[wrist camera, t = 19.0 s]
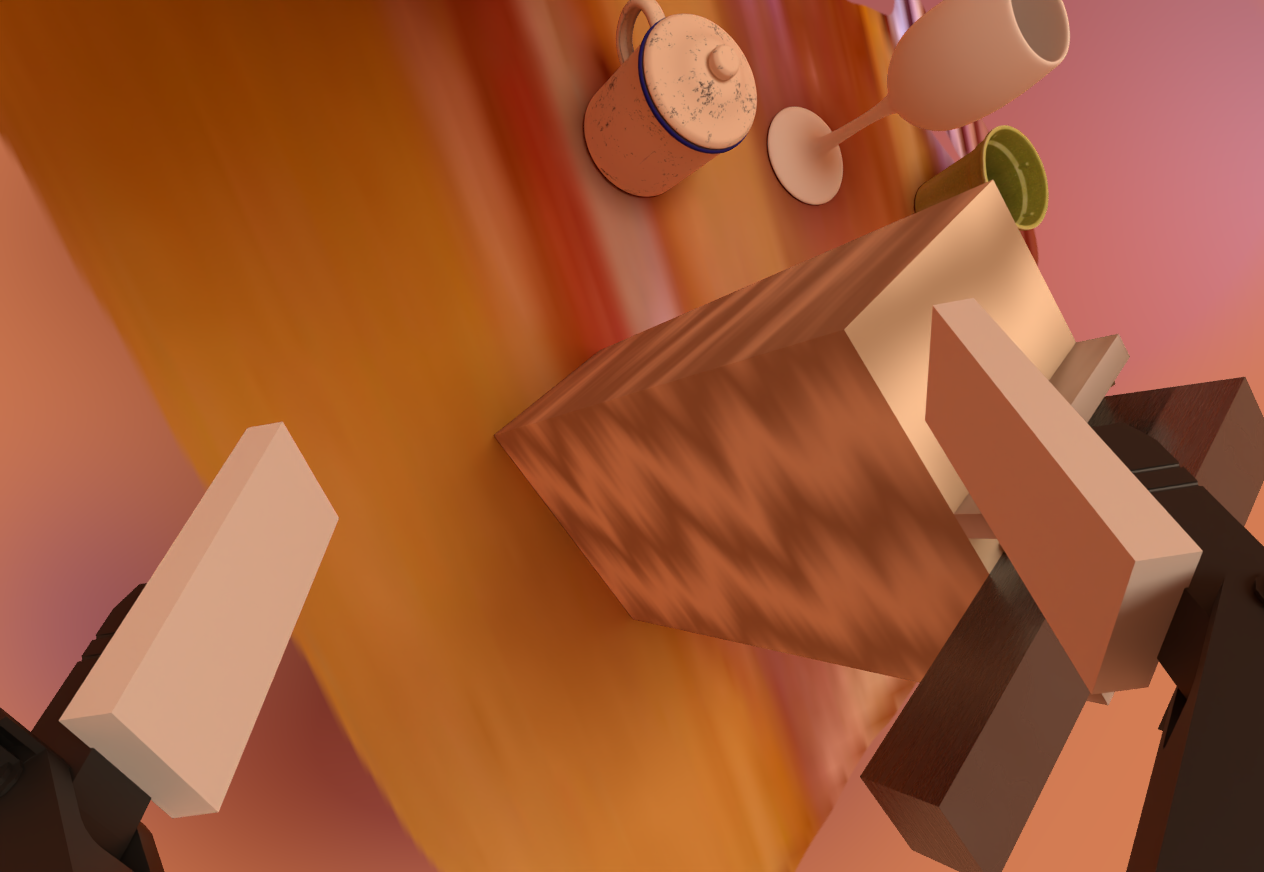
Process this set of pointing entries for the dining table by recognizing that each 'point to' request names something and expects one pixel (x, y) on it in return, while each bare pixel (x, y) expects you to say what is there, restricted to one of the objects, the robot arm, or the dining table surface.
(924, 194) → the plant pot
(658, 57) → the teacup with lid
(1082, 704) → the dark wood beam
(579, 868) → the dining table surface
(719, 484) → the stand
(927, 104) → the wineglass
